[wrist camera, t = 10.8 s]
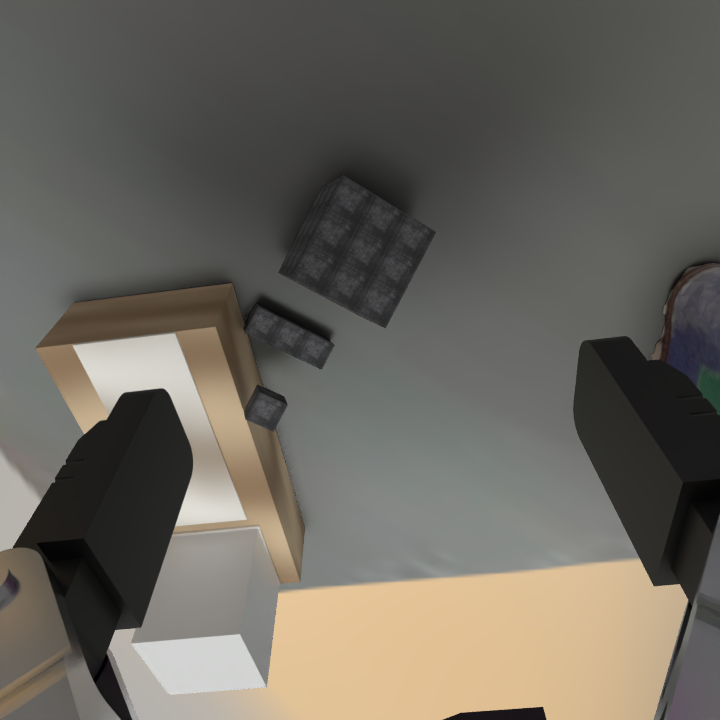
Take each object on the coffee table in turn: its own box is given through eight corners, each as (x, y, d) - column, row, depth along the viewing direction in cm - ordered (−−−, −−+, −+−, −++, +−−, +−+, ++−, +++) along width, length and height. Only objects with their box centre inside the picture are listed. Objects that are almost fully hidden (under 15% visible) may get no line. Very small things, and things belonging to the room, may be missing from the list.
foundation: (73, 302, 20) (33, 350, 18) (232, 283, 20) (214, 328, 17) (190, 539, 28) (174, 594, 26) (304, 528, 28) (300, 583, 25)
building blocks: (437, 233, 16) (311, 471, 17) (383, 236, 21) (288, 418, 22) (342, 174, 15) (212, 430, 16) (310, 193, 20) (213, 384, 21)
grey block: (165, 537, 23) (130, 643, 20) (257, 528, 23) (239, 634, 19) (195, 590, 26) (168, 694, 22) (279, 583, 25) (266, 687, 22)
